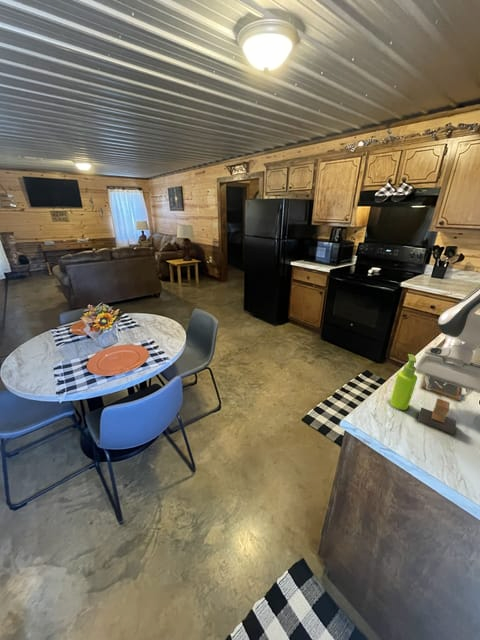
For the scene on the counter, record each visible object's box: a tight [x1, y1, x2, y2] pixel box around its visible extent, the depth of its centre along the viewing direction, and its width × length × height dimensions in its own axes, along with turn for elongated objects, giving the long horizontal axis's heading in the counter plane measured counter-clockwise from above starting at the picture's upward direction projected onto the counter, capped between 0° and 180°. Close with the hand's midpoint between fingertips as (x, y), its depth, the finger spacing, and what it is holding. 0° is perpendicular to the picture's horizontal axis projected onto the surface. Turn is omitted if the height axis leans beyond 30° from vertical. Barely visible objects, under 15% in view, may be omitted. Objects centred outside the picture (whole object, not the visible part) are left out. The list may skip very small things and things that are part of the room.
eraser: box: [417, 398, 457, 436], centre depth 88 cm, size 10×5×8 cm, turn 51°
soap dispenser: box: [389, 353, 418, 411], centre depth 95 cm, size 6×7×20 cm
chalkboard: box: [421, 378, 461, 401], centre depth 111 cm, size 20×12×1 cm, turn 141°
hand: (444, 394), depth 90 cm, fingers open, 8 cm apart
